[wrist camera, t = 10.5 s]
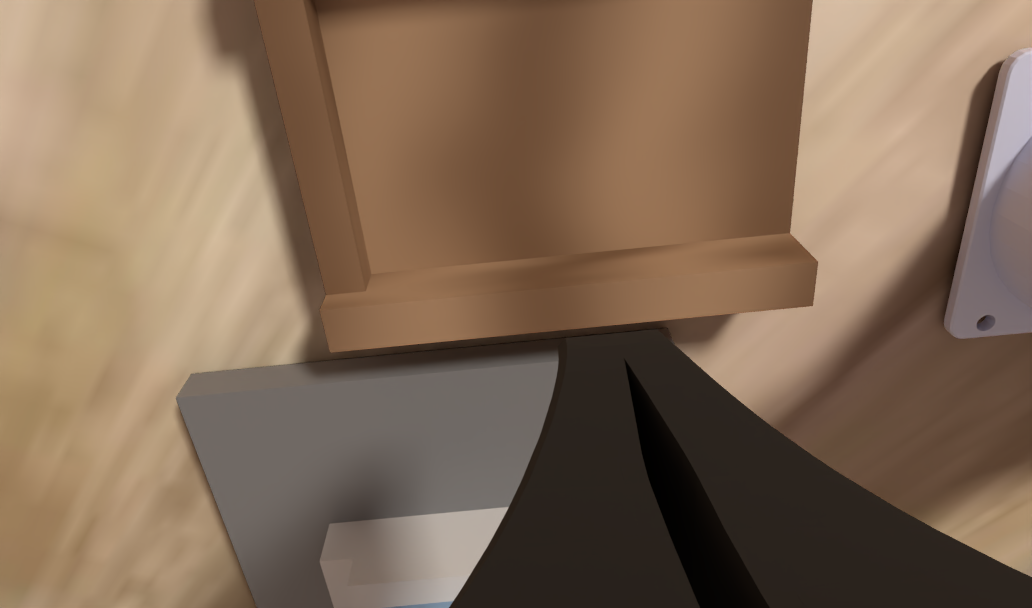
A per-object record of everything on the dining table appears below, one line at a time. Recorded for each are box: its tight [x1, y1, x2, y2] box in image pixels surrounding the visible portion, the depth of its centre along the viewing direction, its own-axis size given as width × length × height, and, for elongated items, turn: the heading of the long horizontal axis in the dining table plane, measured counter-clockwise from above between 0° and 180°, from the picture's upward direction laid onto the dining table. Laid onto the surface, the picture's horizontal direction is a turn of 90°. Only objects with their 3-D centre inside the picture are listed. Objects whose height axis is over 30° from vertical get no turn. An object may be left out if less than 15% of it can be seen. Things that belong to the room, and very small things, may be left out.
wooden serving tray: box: [254, 0, 818, 353], centre depth 16 cm, size 12×10×3 cm
